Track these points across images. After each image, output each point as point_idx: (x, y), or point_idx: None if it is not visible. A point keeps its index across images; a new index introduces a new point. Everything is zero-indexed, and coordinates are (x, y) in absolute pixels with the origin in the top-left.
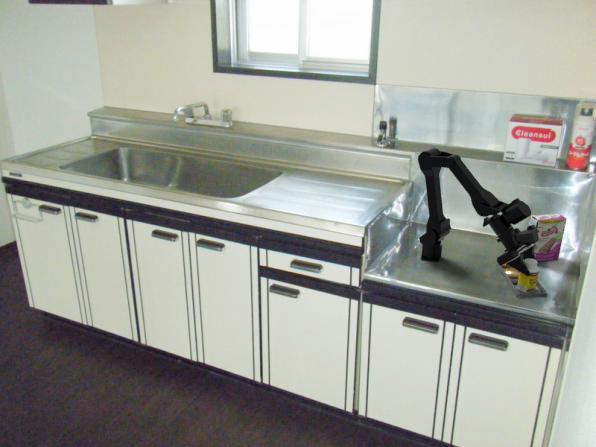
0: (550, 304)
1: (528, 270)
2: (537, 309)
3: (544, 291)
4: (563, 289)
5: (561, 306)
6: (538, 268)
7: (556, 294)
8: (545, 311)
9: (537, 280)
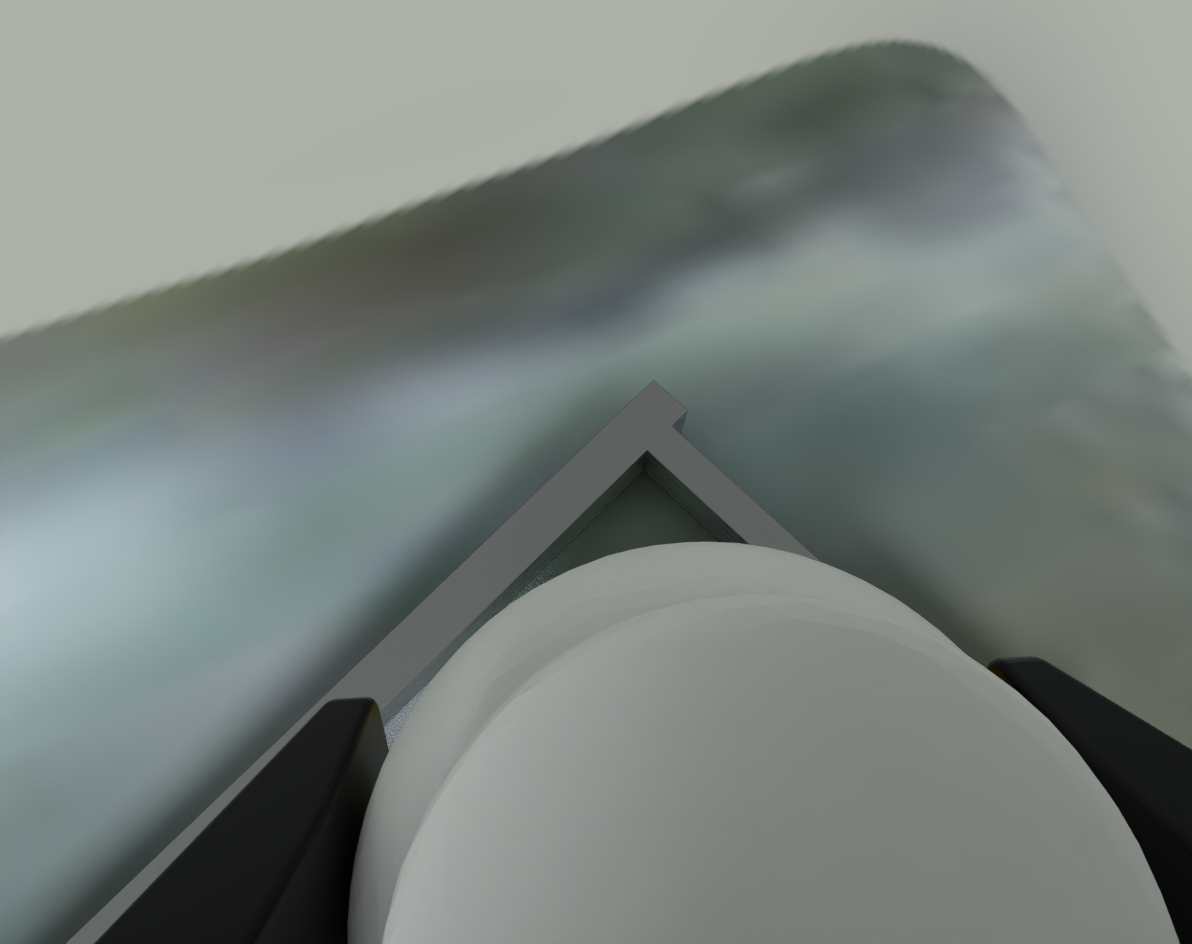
0: (816, 279)
1: (1135, 765)
2: (1118, 344)
3: (607, 458)
4: (191, 343)
5: (745, 156)
6: (591, 579)
7: (439, 348)
8: (1067, 243)
9: (253, 768)
